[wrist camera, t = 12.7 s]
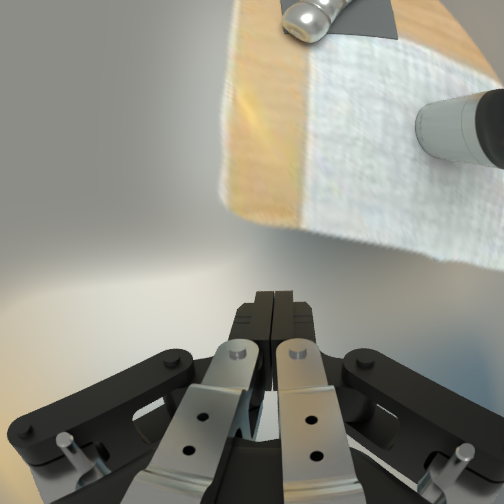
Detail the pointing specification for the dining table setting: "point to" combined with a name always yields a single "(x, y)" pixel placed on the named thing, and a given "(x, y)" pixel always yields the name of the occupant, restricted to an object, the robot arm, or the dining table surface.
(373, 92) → the dining table surface
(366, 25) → the rubber mat
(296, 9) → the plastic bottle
